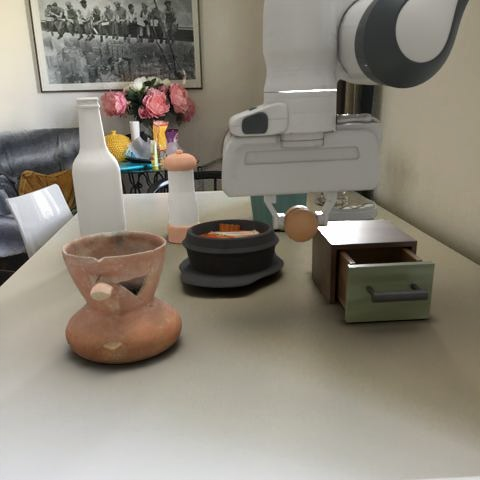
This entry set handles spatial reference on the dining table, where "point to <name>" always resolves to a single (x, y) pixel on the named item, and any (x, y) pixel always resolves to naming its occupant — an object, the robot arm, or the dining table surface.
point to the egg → (300, 223)
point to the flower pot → (275, 206)
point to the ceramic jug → (119, 297)
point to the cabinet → (351, 247)
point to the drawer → (383, 284)
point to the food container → (354, 212)
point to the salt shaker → (181, 195)
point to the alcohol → (96, 176)
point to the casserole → (229, 253)
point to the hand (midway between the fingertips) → (299, 227)
